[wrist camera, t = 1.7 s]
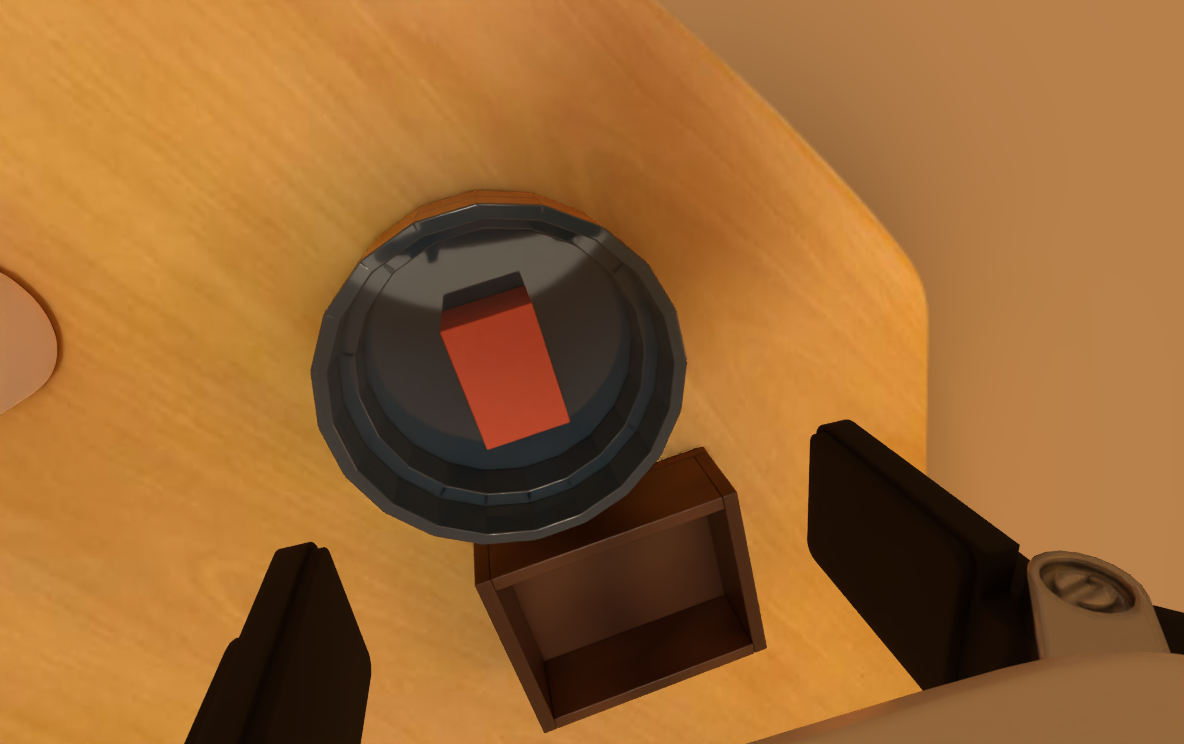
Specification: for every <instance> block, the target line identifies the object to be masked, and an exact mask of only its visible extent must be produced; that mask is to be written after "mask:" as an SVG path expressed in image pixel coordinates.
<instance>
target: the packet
mask: <svg viewBox="0 0 1184 744" xmlns="http://www.w3.org/2000/svg"><path fill="white" fill-rule="evenodd" d="M440 335H441V337H442V340H443V342H444V345H445V347H446V350H447V352H448V355H449V357H450V360H451V362H452V365H453V367H454V369H455V372H456V374H457V377H458V379H459V382H460V384H461V387H462V389H463V392H464V394H465V397H466V399H467V402H468V404H469V407H470V409H471V411H472V414H473V416H474V419H475V421H476V424H477V426H478V429H479V431H480V434H481V436H482V439H483V441H484V444H485V446H486V449H487V450H489V449H492V448H495V447H498V446H501V445H504V444H507V443H510V442H513V441H516V440H519V439H522V438H525V437H528V436H530V435H533V434H536V433H539V432H542V431H545V430H548V429H551V428H554V427H557V426H560V425H563V424H566V423H569V422H570V419H569V416H568V413H567V410H566V407H565V403H564V400H563V397H562V394H561V391H560V388H559V385H558V382H557V379H556V376H555V373H554V369H553V366H552V363H551V360H550V357H549V354H548V351H547V348H546V345H545V342H544V339H543V335H542V332H541V329H540V326H539V323H538V320H537V317H536V314H535V311H534V308H533V305H532V302H531V299H530V297H529V294H528V292H527V290H526V287H525V286H521V287H518V288H514V289H511V290H508V291H505V292H502V293H499V294H496V295H492V296H489V297H486V298H483V299H480V300H477V301H474V302H470V303H467V304H464V305H461V306H458V307H455V308H452V309H448V310H445V311H443V312H442V315H441V326H440Z"/></svg>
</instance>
